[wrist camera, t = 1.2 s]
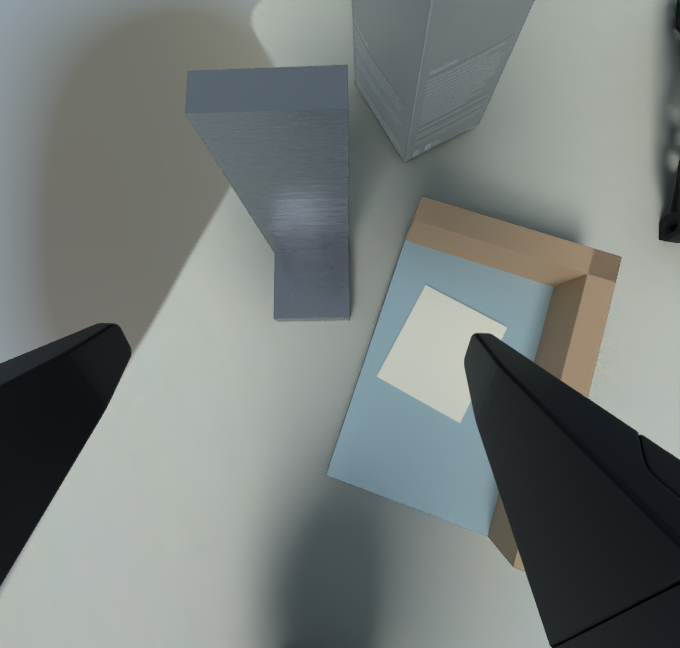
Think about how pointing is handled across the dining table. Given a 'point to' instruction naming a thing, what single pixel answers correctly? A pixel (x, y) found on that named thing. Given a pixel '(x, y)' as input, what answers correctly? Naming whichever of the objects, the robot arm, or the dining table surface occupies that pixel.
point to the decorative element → (675, 224)
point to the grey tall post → (286, 172)
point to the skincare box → (432, 64)
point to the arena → (449, 352)
